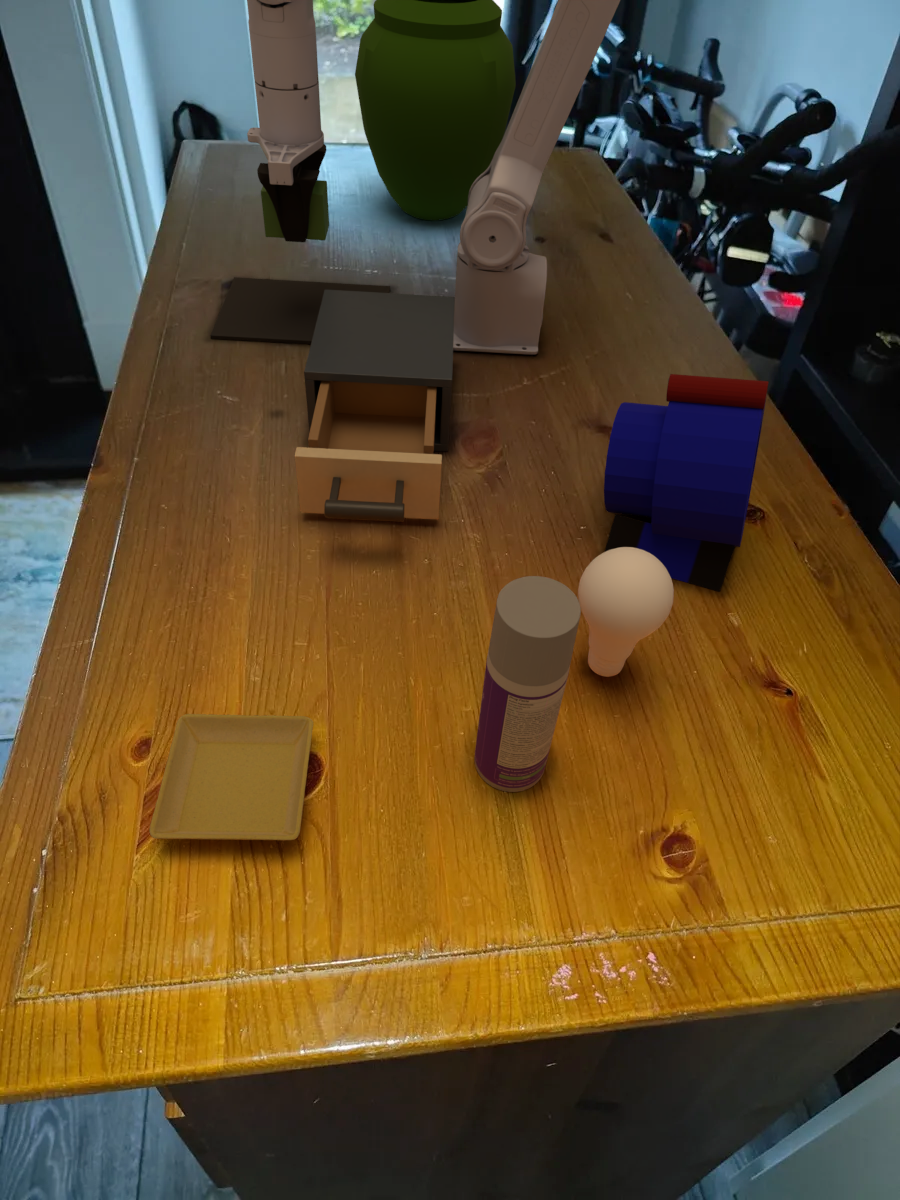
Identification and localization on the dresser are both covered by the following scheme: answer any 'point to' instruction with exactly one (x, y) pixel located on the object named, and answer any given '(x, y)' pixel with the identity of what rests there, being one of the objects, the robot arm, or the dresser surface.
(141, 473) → the dresser surface
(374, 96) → the vase
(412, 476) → the drawer
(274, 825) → the saucer
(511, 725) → the container
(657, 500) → the alarm clock
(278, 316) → the mat
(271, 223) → the block
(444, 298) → the cabinet
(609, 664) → the lightbulb
